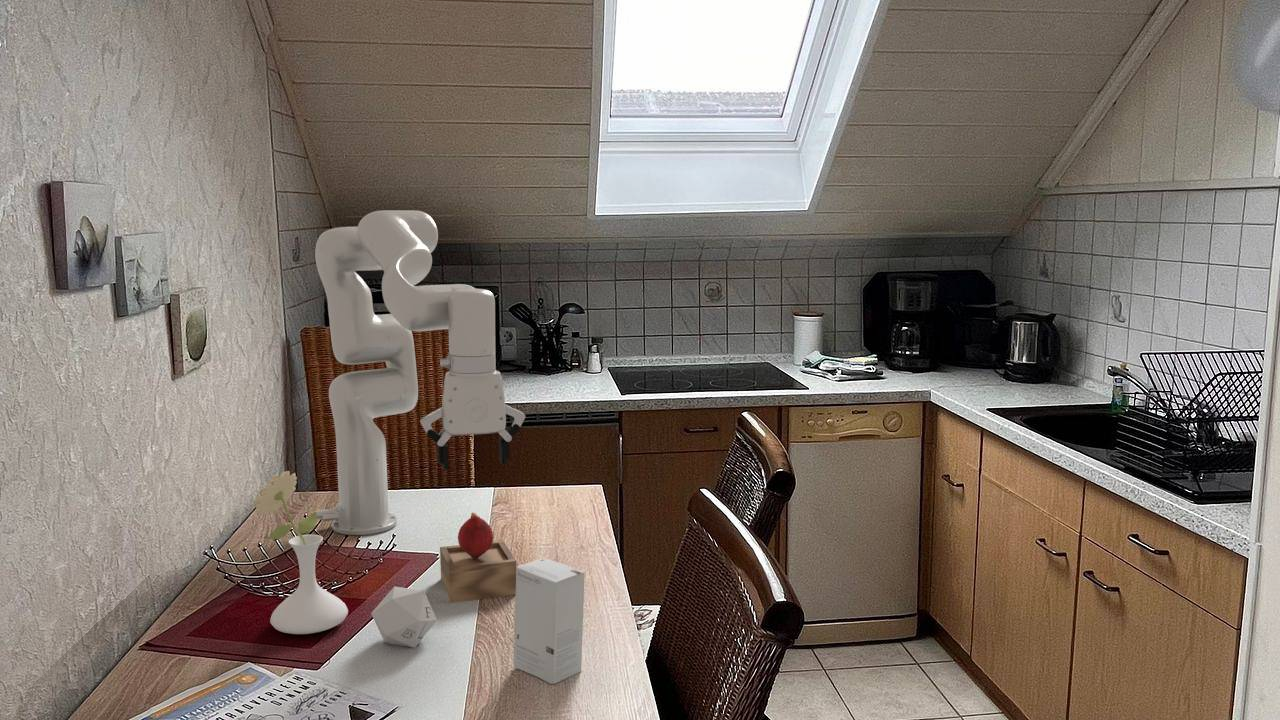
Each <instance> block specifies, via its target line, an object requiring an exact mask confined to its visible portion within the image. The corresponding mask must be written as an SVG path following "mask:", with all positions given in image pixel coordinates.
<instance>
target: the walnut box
mask: <svg viewBox="0 0 1280 720" xmlns="http://www.w3.org/2000/svg"><path fill="white" fill-rule="evenodd" d="M439 555H440V556H439V557H440V559H439V560H440V580H441V583H442V586H443V587H444V588H443V589H444V591H445V593H446V595H447V598H448V600H449V603H450V604H451V603H458V602H465V601H466V602H467V601H474V600H484V599H489V598H490V599H491V598H499V597H506V596H514V595H515V596H516V567H517V560H516V558H515V556H514V555H513V554H512V552H511V550H510V549H509V547H508V545H507V544H506V542H505V541H504V540H502V539H501V540H493V543H492V545H491V547H490V548H489V549H488V550H487V551H486V552H485V553H484V554H483V555H481V556H480V557H478V558H476V559H474V558H472V557H471V556H470V555H468V554H467V553H466V552H465V551H464V550H462V548H461V547H460V545H459V544H457V545H448V546H447V545H445V546H439Z"/></svg>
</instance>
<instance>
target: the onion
mask: <svg viewBox="0 0 1280 720" xmlns="http://www.w3.org/2000/svg"><path fill="white" fill-rule="evenodd" d="M457 540H458V541H457V542H458V545H460V547H461V548H462V550H464V551H465V552H466V553H467V554H468V555H470V556H471V557H472V558H474V559H476V558H478V557H480V556H481V555H483V554H484V553H485V552H486V551H487V550H488V549H489V548H490V547H491V545H492V543H493V541H494V533H493V529H492V528H491V526H490V525H489V523H487V522H486V521H485V520H484V519H483V518H481V517H480V516H479V515H477V513H476V512H471V513H470V517H469V519H467V520H466V521H465V522H464V523H463V524H462V525H461V527H460V529H459V530H458V534H457Z"/></svg>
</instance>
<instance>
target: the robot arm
mask: <svg viewBox="0 0 1280 720" xmlns="http://www.w3.org/2000/svg"><path fill="white" fill-rule="evenodd" d="M438 239H439V231H438V227H437V225H436V223H435V221H434V219H433V217H431V216H430V215H429V214H428V213H427V212H424V211H421V210H412V209H411V210H409V209H408V210H403V209H401V210H397V209H396V210H391V209H390V210H389V209H388V210H386V209H385V210H375V211H372V212H369V213H367V214H366V215H364V216H363V217H362V218H361V220H360V221H359V222H358V224H357V226H340V227H333V228H330V229H327V230H325V231H323V232H322V233H321V234H320V235H319V237H318V238H317V240H316V244H315V248H314V249H315V252H314V253H315V257H314V258H315V263H316V268H317V273H318V275H319V278H320V280H321V283H322V286H323V288H324V292H325V295H326V300H327V311H328V318H329V319H328V321H329V331H330V339H331V348H332V352H333V355H334V357H335V359H336V360H337V361H338V362H339V363H340V364H343V365H364V364H372V363H382V362H383V363H384V362H385V366H386V367H385V368H378V369H365V370H356V371H350V372H345V373H342V374H340V375H338V376H336V377H335V378H334V379H333V380H332V381H331V382H330V384H329V388H328V399H329V404H330V408H331V409H330V410H331V413H332V418H333V423H334V432H335V445H336V447H335V448H336V460H337V461H336V462H337V465H336V467H337V484H338V485H337V486H338V502H337V503H336V504H337V505H336V506H333V507H332V508H330V509H323V508H322V509H316V510H315V512H316V515H317V521H318V520H322V522H330V521H332V523H331V529H332V530H333V532H336V533H338V534H341V535H346V536H347V535H349V536H365V535H366V536H368V535H374V534H379V533H382V532H385V531H389V530H391V529H392V528H394V527H395V526H396V525H397V524H398V520H397V517H396V515H394V514H392V513H390V512H389V496H388V495H389V491H388V489H389V488H388V487H389V486H388V468H387V467H388V466H387V462H388V461H387V444H386V443H387V442H386V438H385V435H384V434H383V432H382V431H381V429H380V428H379V427H378V426H377V424H375V422H374V419H375V418H380V417H386V416H393V415H398V414H399V415H400V414H405V413H408V412H410V411H412V410H413V409H414V408H415V407H416V406H417V403H418V399H419V384H418V383H419V382H418V381H419V380H418V371H417V361H416V351H415V343H414V336H413V332H428V331H438V330H439V331H440V330H448V355H447V357H445V358H440V359H439V364H440V367H441V368H447V369H448V371H447V372H445V375H444V381H443V387H442V400H441V407H440V408H437V409H435V410H433V411H432V412H430V413H428V414H427V415H425V416H423V417H421V418H420V420H419V422H420V425H421V426H422V428H423V430H424V431H425V433H426V434H427V436H428V437H429V438H430V439H431V440H432V441H433V442H434V443H436V445H437V462H438V463H437V464H439V465H441V467H442V469H443V470H444V471H446V470H448V469H449V466H450V465H449V446H448V444H447V442H448V441H449V440H450V438H451V437H453V436H473V435H474V436H475V435H485V434H486V435H487V434H488V435H489V434H499V436H500V437H499V439H498V462H499V463H500V464H501V465H502V466H507V463H508V462H507V460H508V459H509V460H510V457H511V453H510V449H511V447H510V442H511V441H512V439H513V438H514V436H515V435H517V433H518V432H519V431H520V429H521V426H522V424H523V423H524V421H525V419H526V414H525V413H524V412H522V411H521V410H518V409H516V408H514V407H512V406H510V405H507V404H506V398H505V389H504V382H503V377H502V374H501V372H500V371H499V370H497V366H496V363H497V362H496V361H497V360H496V359H497V358H496V299H495V296H494V293H493V292H491V291H490V290H488V289H486V288H485V289H484V288H476V287H473V286H472V285H468V284H466V283H464V284H463V283H454V284H453V283H451V284H430V285H429V284H428V285H417V284H419V283H420V282H421V281H423V280H424V279H425V278H426V277H427V275H428V274H429V273H430V271H431V269H432V264H433V256H432V254H431V253H433V252H434V251H435V249H436V247H437V245H438V242H439V241H438ZM358 271H383V275H382V280H381V293H382V299H383V302H384V305H385V307H386V309H387V311H388V312H389V313H385V314H384V313H383V314H375V311H374V307H373V304H374V303H373V296H372V292H371V289H370V287H369V286H368V285H367V283H366V281H364V279H363V278H362V277H361V276H360V275H359V274H358V273H357V272H358ZM507 415H508V416H511V417H513V418H514V419H513V422H512V423H511V425H509V426H508V427H507V428H506V426H507ZM440 419H441V425H442V429H441V430H440V431H439V432H437V431H436V430H435V429H433V427H432V424H433V423H435V422H436V421H438V420H440Z"/></svg>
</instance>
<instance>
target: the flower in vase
mask: <svg viewBox="0 0 1280 720" xmlns="http://www.w3.org/2000/svg"><path fill="white" fill-rule="evenodd" d="M296 475H297V474H296V472H294V473H292V474H290V471H289V470H287V471H282V472H281V473H280V475H279V474H274V475H273V476H272V478H271V479H270V480H269V481H267V484H266V485H265V487H263V488H260V489H259V491H258V494H259V495H260V496H258V497H257V498H255V500H254V503H253V505H252V507H253V508H256V509H255V510H254V514H258V515H259V516H260V515H263V516H267V515H268V514H273V513H275V511H278V510H279V509H280V508H281V507H282V505H283V507H284V508H285V511H286V513H287V516H288V519H289V521H290V524H291V525H290V524H282V525H279V526H278V527H276V528H275V529H274V530H273V531H272V532H271V533H270V535H269V536H268V538H267V541H269V540H278V539H282V538H285V537H286V535H288V534H289V532H290V531H291V530H292V528H293V529H294V531H295V533H296V534H297V536H293V537H292V538H290V539H288V544H289V545H290V546H291V548H293V550H294V552H295V554H296V557H297V562H298V567H299V569H298V570H299V583H298V586H297V588H296V590H295V591H294V592H292V593H291V594H290V595H288V596H287V598H284V600H283V601H282V602H281V603H280V604H279V605H277V607H276V608H275V609H274V610H273V611H272V613H271V617H270V618H269V619H270V620H269V621H270V624H271V626H273V628H274V629H275V630H277V631H279V632H281V633H286V634H291V635H310V634H315V633H316V634H317V633H321V632H323V631H324V632H325V631H327V630H330V629H332V628H335V627H336V626H338V625H339V624H341V623H342V622H343V621H345V619H346V617H347V616H348V614H349V609H348V607H347V605H346V603H345V602H343V600H342V599H340V598H339V597H338V596H336V595H334V594H332V593H331V592H329V591H327V590H325V589H324V588H322V587H321V586H320V585H319V584H318V582H317V577H316V556H317V552H318V549H319V547H320V545H321V543H322V542H323V540H324V537H323V536H321V535H318V534H305V533H308V532H310V531H312V530H313V529H315V528H316V526H317V522H318V520H317V515H316V511H315V512H313V513H311V514H310V515H308V516H307V517H305V518H303V519H302V520H300V521H299V522H298V524H297V525H298V526H297V527H298V528H297V527H296V526H295V524H294V522H293V519H292V516H291V513H290V510H289V508H288V506H287V502H288V501H289V499H290V498H291V497H292V495H293V493H294V492H295V491H296V489H297V487H295V486H297V483H298V482H297V479H298V478H297V476H296ZM302 534H303V535H302Z"/></svg>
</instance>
